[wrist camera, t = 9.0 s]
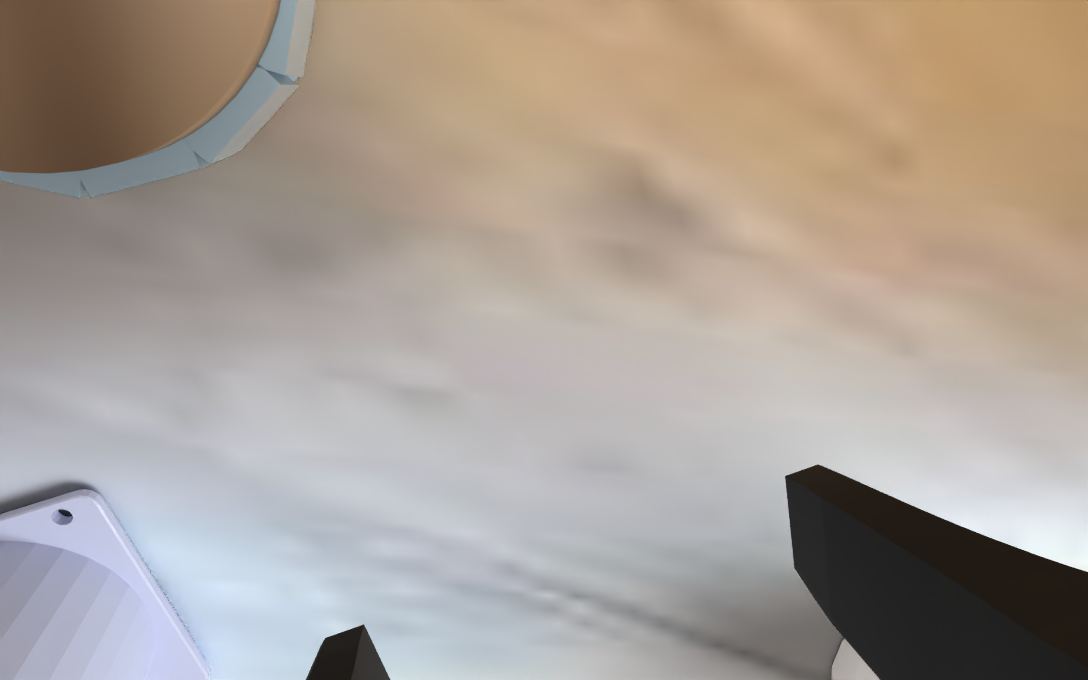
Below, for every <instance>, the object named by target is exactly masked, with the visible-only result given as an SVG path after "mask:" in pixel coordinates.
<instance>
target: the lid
mask: <svg viewBox="0 0 1088 680" xmlns="http://www.w3.org/2000/svg"><path fill="white" fill-rule="evenodd" d="M280 3H281V0H0V171H5V172H15V173H47V174H49V173H60V172H72V171H83V170H88V169H93V168H97V167H102V166H106V165H111V164H116V163H120V162H123V161H127V160H130V159H134V158H138V157H141V156H144V155H146V154H149V153H152V152H155V151H157V150H160V149H163V148H165V147H168V146H170V145H172V144H174V143H176V142H178V141H179V140H181V139H183V138H185V137H187V136H189V135H190V134H192V133H194V132H196V131H197V130H198V129H200V128H201V127H202V126H204V125H205V124H206V123H208V122H209V121H210V120H212V119H213V118H214V117H216V116H217V115H218V114H219V113H220V112H221V111H222V110H223V109H224V108H225V107H226V106H227V105H228V104H229V103H230V102H231V101H232V100H233V99H234V98H235V97H236V96H237V95H238V93H239V92H240V90H241V89H242V88H243V86H244V85H245V83H246V82H247V81H248V79H249V78H250V76H251V75H252V74H253V72H254V71H255V69H256V67H257V65H258V63H259V61H260V59H261V57H262V55H263V53H264V51H265V49H266V47H267V45H268V43H269V41H270V38H271V35H272V32H273V29H274V26H275V23H276V20H277V17H278V14H279V8H280Z"/></svg>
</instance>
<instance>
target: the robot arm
mask: <svg viewBox="0 0 1088 680" xmlns="http://www.w3.org/2000/svg"><path fill="white" fill-rule="evenodd" d="M785 479H786V489H787V498H788V508H789V518H790V528H791V538H792V548H793V558H794V567H795V569H796V571H797V573H798V574H799V576H800V577H801V579H802V580H803V582H804V583H805V585H806V586H807V588H808V589H809V591H810V592H811V594H812V595H813V597H814V598H815V600H816V601H817V603H818V604H819V606H820V607H821V608H822V610H823V611H824V613H825V614H826V616H827V617H828V618H829V620H830V621H831V623H832V624H833V625H834V626H835V627H836V629H837V630H838V631H839V632H840V633H841V635H842V636H843V637H844V638H845V639H846V641H847V642H848V643H849V644H850V645H851V646H852V648H853V649H854V650H855V651H856V652H857V653H858V655H859V656H860V657H861V658H862V659H863V660H864V662H865V663H866V664H867V665H868V666H869V667H870V669H871V670H872V671H873V672H874V673H875V674H876V676H877V677H878V678H879V679H880V680H1088V572H1086V571H1083V570H1079V569H1076V568H1073V567H1070V566H1067V565H1064V564H1061V563H1058V562H1055V561H1052V560H1049V559H1046V558H1043V557H1040V556H1038V555H1035V554H1032V553H1029V552H1027V551H1024V550H1021V549H1019V548H1016V547H1013V546H1011V545H1008V544H1005V543H1002V542H1000V541H997V540H994V539H992V538H989V537H986V536H984V535H981V534H979V533H976V532H974V531H971V530H969V529H966V528H964V527H961V526H959V525H956V524H954V523H952V522H949V521H947V520H944V519H942V518H940V517H937V516H935V515H933V514H930V513H928V512H925V511H923V510H921V509H919V508H916V507H914V506H912V505H909V504H907V503H905V502H902V501H900V500H898V499H896V498H893V497H891V496H889V495H887V494H884V493H882V492H880V491H878V490H875V489H873V488H871V487H869V486H866V485H864V484H862V483H860V482H858V481H855V480H853V479H851V478H849V477H846V476H844V475H842V474H840V473H837V472H835V471H833V470H830V469H828V468H825V467H823V466H821V465H815V466H813V467H810V468H807V469H804V470H801V471H798V472H796V473H793V474H790V475H787V476H785ZM59 509H64V510H67V511H69V512H70V513H71V514H72V516H70V517H67V516H63V515H62V514H60V513H59V511H58V510H59ZM210 671H211V670H210V667H209V665H208V663H207V662H206V660H205V659H204V657H203V655H202V654H201V652H200V651H199V649H198V648H197V646H196V644H195V643H194V641H193V640H192V638H191V636H190V635H189V633H188V632H187V630H186V629H185V627H184V625H183V624H182V622H181V621H180V619H179V617H178V616H177V614H176V613H175V611H174V609H173V608H172V606H171V605H170V603H169V602H168V600H167V598H166V597H165V595H164V594H163V592H162V590H161V589H160V587H159V586H158V584H157V583H156V581H155V579H154V578H153V576H152V575H151V573H150V571H149V570H148V568H147V567H146V565H145V564H144V562H143V560H142V559H141V557H140V556H139V554H138V552H137V551H136V549H135V548H134V546H133V544H132V543H131V541H130V540H129V538H128V537H127V535H126V533H125V532H124V530H123V529H122V527H121V525H120V524H119V522H118V521H117V519H116V518H115V516H114V514H113V513H112V511H111V510H110V508H109V506H108V505H107V503H106V502H105V500H104V499H103V497H102V496H101V495H100V494H98V493H96V492H94V491H92V490H86V489H82V490H76V491H73V492H70V493H66V494H63V495H60V496H57V497H54V498H50V499H47V500H44V501H41V502H38V503H34V504H31V505H28V506H25V507H22V508H18V509H15V510H12V511H9V512H6V513H2V514H0V680H208V679H209V675H210ZM306 680H390V678H389V676H388V674H387V672H386V670H385V668H384V666H383V664H382V661H381V659H380V657H379V655H378V653H377V651H376V649H375V647H374V645H373V643H372V640H371V638H370V636H369V634H368V632H367V630H366V628H365V626H364V625H361V626H358V627H356V628H353V629H350V630H347V631H344V632H341V633H339V634H336V635H333V636H330V637H327V638H325V640H324V641H323V643H322V645H321V647H320V649H319V651H318V653H317V656H316V658H315V660H314V663H313V665H312V667H311V669H310V672H309V674H308V676H307V679H306Z"/></svg>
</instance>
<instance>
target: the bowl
mask: <svg viewBox="0 0 1088 680" xmlns="http://www.w3.org/2000/svg"><path fill="white" fill-rule="evenodd" d="M315 3H316V0H281V3H280V8H279V14H278V17H277V20H276V23H275V26H274V29H273V32H272V35H271V38H270V41H269V43H268V45H267V47H266V49H265V51H264V53H263V55H262V57H261V59H260V61H259V63H258V65H257V67H256V69H255V71H254V72H253V74H252V75H251V76H250V78H249V79H248V81H247V82H246V83H245V85H244V86H243V88H242V89H241V90H240V92H239V93H238V95H237V96H236V97H235V98H234V99H233V100H232V101H231V102H230V103H229V104H228V105H227V106H226V107H225V108H224V109H223V110H222V111H221V112H220V113H219V114H218V115H217V116H216V117H214V118H213V119H212V120H210V121H209V122H208V123H206V124H205V125H204V126H202V127H201V128H200V129H198V130H197V131H196V132H194V133H192V134H190V135H189V136H187V137H185V138H183V139H181V140H179V141H178V142H176V143H174V144H172V145H170V146H168V147H165V148H163V149H160V150H157V151H155V152H152V153H149V154H146V155H144V156H141V157H138V158H134V159H130V160H127V161H123V162H120V163H116V164H111V165H106V166H102V167H97V168H93V169H88V170H83V171H72V172H60V173H49V174H47V173H15V172H5V171H0V181H3V182H8V183H12V184H17V185H21V186H26V187H30V188H35V189H40V190H44V191H49V192H53V193H58V194H62V195H67V196H71V197H76V198H81V197H84V196H87V195H89V196H90V198H93V197H97V196H101V195H104V194H108V193H112V192H116V191H120V190H123V189H127V188H131V187H135V186H139V185H142V184H146V183H150V182H154V181H158V180H161V179H165V178H169V177H173V176H177V175H180V174H184V173H188V172H192V171H195V170H199V169H202V168H204V167H207V166H209V165H211V164H214V163H216V162H218V161H221V160H223V159H225V158H228V157H230V156H232V155H233V154H234V153H236V152H239V151H241V150H242V149H243V147H244V146H245V145H246V144H247V143H248V142H249V141H250V140H251V139H252V137H253V136H254V135H255V134H256V133H257V132H258V131H259V130H260V129H261V128H262V127H263V126H264V125H265V124H266V123H267V122H268V121H269V120H271V119H272V118H273V116H274V115H275V114H276V112H277V111H278V110H279V109H280V107H281V106H282V105H283V103H284V102H285V101H286V100H287V99H288V98H289V97H290V95H291V94H292V93H293V92H294V91H295V90H296V89H297V88H298V87H299V86H300V85H299V84H298V83H297V80H298V78H299V77H302V78H303V76H304V70H305V64H306V58H307V54H308V50H309V46H310V42H311V37H312V33H313V25H314V14H315Z"/></svg>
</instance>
